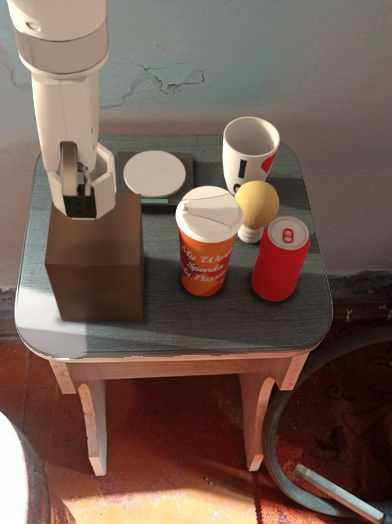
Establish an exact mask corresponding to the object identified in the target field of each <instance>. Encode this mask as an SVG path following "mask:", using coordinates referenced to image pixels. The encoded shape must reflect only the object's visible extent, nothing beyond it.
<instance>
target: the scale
mask: <svg viewBox="0 0 392 524" xmlns="http://www.w3.org/2000/svg"><path fill="white" fill-rule="evenodd" d="M116 152H117V153H116V168H115V178H116V193H124V194H141V202H142V212H170V213H171V212H173V213H174V212H175V213H176V210H177V207H178V205H179V203H180V202H181V201H182V199H183V198H184V196H185V195H186V194H187V193H188V192H190V191H191V190H193V189H195V188H194V187H195V186H194V160H193V152H173V151H172V152H168V151H167V152H166V151H164V150H163V151H162V150H146V151H128V150H126V151H125V150H124V151H123V150H117V151H116Z"/></svg>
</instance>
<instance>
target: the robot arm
mask: <svg viewBox="0 0 392 524" xmlns="http://www.w3.org/2000/svg"><path fill="white" fill-rule="evenodd" d="M6 1H7V6H8V11H9V15H10V19H11V24H12V28H13V34H14V38H15V42H16V47H17V50H18V51H17V52H18V56H19V59H20V61H21V63H22V64H23V65H24V67H25V68H27V69H28V70H29V71H30V72H31V86H32V87H31V88H32V97H33V105H34V112H35V113H34V114H35V119H36V127H37V133H38V138H39V145H40V151H41V157H42V162H43V167H44V169H45V170H47V171H48V172H57V170H58V167H59V164H60V174H61V185H62V196H63V201H64V206H65V211H66V216H67V217H69V218H96V217H97V209H96V201H95V192H94V188H91V180H90V173H91V172H92V171H93V170H94V169H95V164H96V154H97V144H98V142H99V143H100V141H99V139H100V138H99V131H100V115H101V114H100V112H101V111H100V110H101V101H100V99H101V97H100V81H99V79H100V78H99V70H101V68H102V67H103V66H105V64H106V62H107V61H108V59H109V55H110V42H109V30H108V28H109V27H108V15H107V14H108V13H107V2H106V1H107V0H6ZM77 157H79V160H80V161H81V162H77ZM47 171H46V172H47ZM78 172H83V174H84V184H78Z"/></svg>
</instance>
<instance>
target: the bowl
mask: <svg viewBox="0 0 392 524" xmlns="http://www.w3.org/2000/svg"><path fill="white" fill-rule="evenodd" d="M77 162H81V161H80V160H79V157H77ZM115 165H116V164H115V156H114V153H112V151H110V150H109V149H108V148H106V147H105V146H104V145H102V143H100V141H99V142H98V144H97V154H96V164H95V169H94V170H93V171H92V172H91V173H90V180H91V188H94V192H95V201H96V209H97V217H96V219H99V218H100V217H102V216H103V215H104V214H106V213H107V212H109V211H110V210H112V209H113V208H114V206H115V205H116V166H115ZM45 170H46V169H45ZM46 175H47V180H48V185H49V189H50V193H51V199H52V198H53V203H54V205H55V207H57V208H58V209H59V210H60V211H61V212H62V213H64V214H65V215H66V211H65V206H64V201H63V196H62V185H61V174H60V164H59V167H58V170H57V172H48V171H47V170H46ZM78 184H84V174H83V172H78ZM68 218H69V217H68ZM72 220H95V218H72Z"/></svg>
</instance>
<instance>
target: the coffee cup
mask: <svg viewBox="0 0 392 524" xmlns="http://www.w3.org/2000/svg"><path fill="white" fill-rule="evenodd" d="M175 220H176V224H177V226H178V241H179V242H178V243H179V259H180V260H179V262H180V276H181V277H180V278H181V282H182V285H183V288H185V290H186V291H187V292H189V293H190V294H192V295H193V296H196V297H209V296H212V295H214V294H216V293H217V292H219V290H220V289H221V287H222V286H223V283H224V281H225V277H226V273H227V269H228V266H229V262H230V260H231V255H232V252H233V248H234V245H235V241H236V237H237V235H238V231H239V229H240V227H241V226H242V224H243V222H244V214H243V210H242V209H241V207H240V206H239V204H238V202H237V201H236V199H235V196H234V195H233V194H231V193H230V192H229V190H227V189H224V188H222V187H218V186H213V185H203V186H198V187H195V188H194V189H193V190H191V191H190V192H188V193H187V194H186V195H185V196H184V198H183V199H182V201H181V202H180V203H179V205H178V207H177V210H176V212H175Z"/></svg>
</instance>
